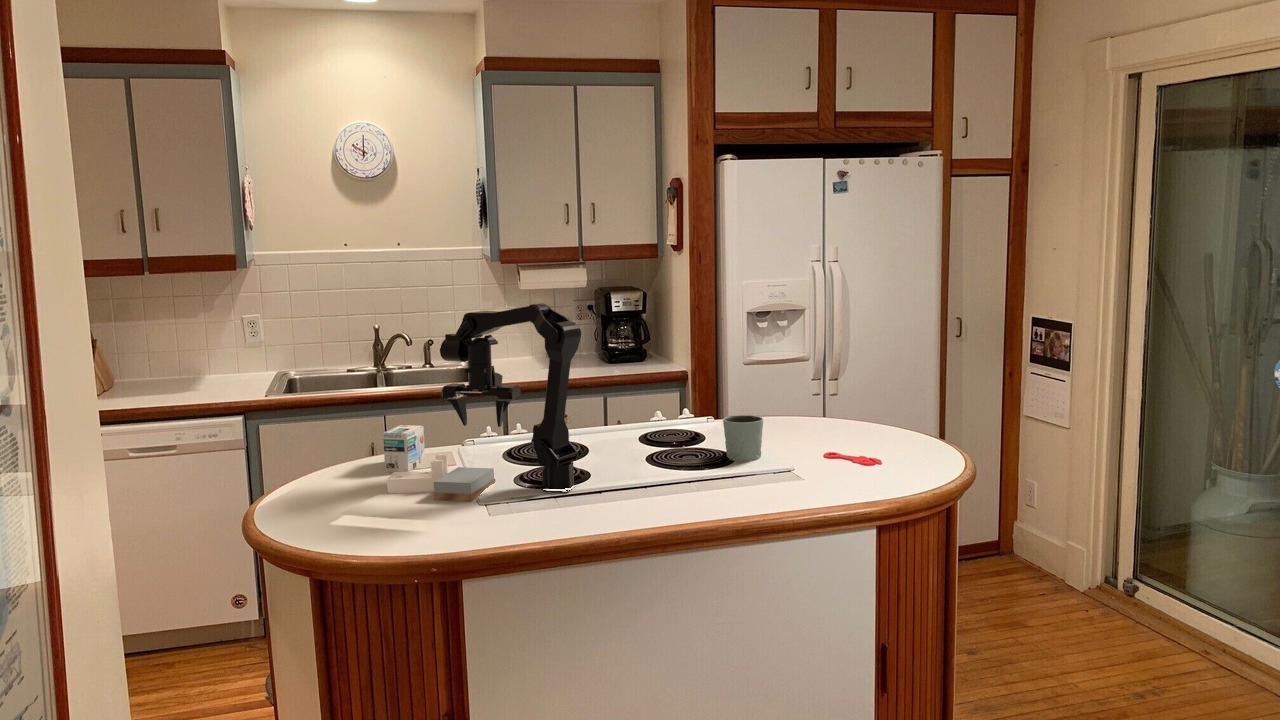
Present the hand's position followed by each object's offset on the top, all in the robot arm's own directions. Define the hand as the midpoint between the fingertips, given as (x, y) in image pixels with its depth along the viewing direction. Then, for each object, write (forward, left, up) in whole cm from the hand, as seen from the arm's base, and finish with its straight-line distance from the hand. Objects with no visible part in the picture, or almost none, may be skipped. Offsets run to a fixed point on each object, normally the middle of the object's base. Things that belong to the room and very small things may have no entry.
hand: (482, 426), depth 239 cm
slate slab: (-2, +14, -11) cm, 18 cm away
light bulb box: (+24, -4, -13) cm, 28 cm away
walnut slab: (-2, +14, -14) cm, 20 cm away
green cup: (-60, -26, -13) cm, 67 cm away
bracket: (+11, +12, -14) cm, 22 cm away
